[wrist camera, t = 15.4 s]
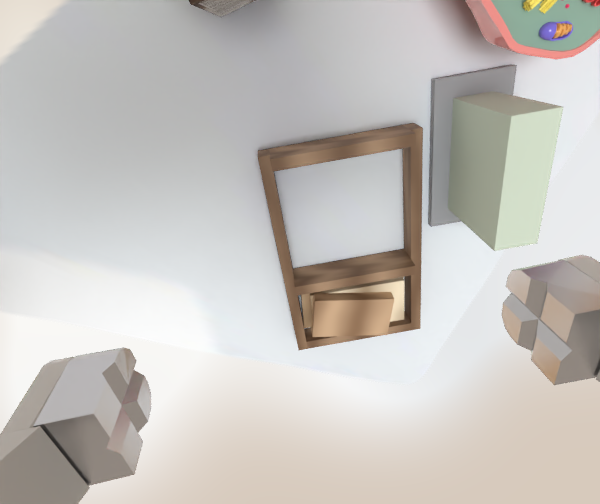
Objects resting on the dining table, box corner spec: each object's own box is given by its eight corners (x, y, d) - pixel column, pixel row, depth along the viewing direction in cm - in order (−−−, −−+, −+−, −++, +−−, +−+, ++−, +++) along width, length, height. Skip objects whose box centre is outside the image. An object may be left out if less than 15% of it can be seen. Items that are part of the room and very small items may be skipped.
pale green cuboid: (447, 208, 43) (494, 250, 34) (453, 98, 37) (511, 116, 28) (481, 202, 43) (537, 243, 34) (492, 91, 37) (563, 106, 28)
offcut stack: (303, 320, 51) (306, 343, 47) (299, 277, 47) (302, 298, 44) (396, 310, 51) (407, 332, 48) (400, 267, 48) (412, 287, 44)
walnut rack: (297, 337, 52) (299, 358, 48) (257, 150, 39) (257, 161, 35) (413, 316, 52) (424, 336, 48) (413, 122, 39) (428, 131, 35)
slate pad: (428, 223, 45) (431, 226, 44) (431, 79, 37) (435, 79, 36) (494, 212, 45) (497, 214, 44) (511, 64, 37) (516, 65, 36)
